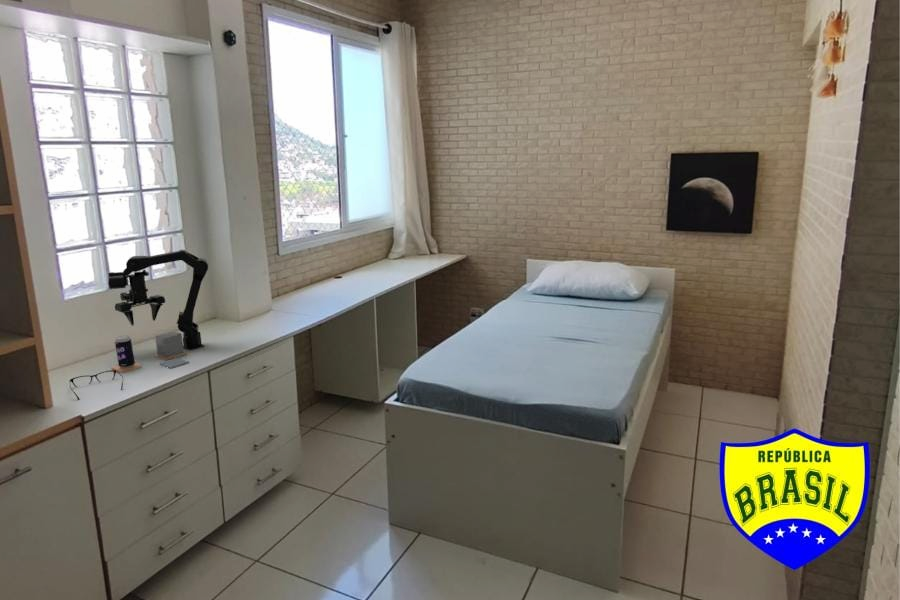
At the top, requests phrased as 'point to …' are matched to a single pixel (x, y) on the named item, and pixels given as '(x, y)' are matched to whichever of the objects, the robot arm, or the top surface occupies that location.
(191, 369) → the top surface
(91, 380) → the eyeglasses
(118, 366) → the terracotta pad
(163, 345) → the grey unit
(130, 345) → the beverage can
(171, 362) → the slate pad
